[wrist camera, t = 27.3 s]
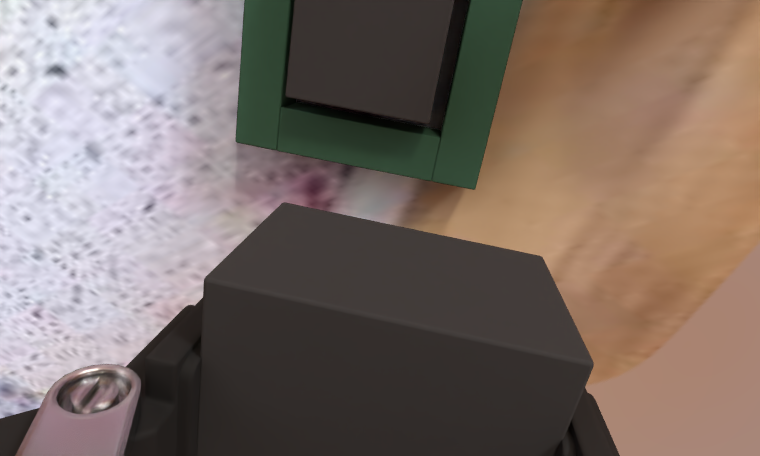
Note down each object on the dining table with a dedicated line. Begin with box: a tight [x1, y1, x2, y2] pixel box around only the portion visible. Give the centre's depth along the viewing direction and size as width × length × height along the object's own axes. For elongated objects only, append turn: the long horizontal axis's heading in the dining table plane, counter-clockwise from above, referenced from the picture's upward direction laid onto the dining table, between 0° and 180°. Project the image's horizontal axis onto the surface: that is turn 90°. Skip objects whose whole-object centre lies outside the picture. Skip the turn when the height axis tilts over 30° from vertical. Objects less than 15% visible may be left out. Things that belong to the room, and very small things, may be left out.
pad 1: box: [285, 0, 454, 124], centre depth 20 cm, size 6×6×4 cm
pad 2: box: [196, 203, 593, 456], centre depth 10 cm, size 6×6×4 cm
